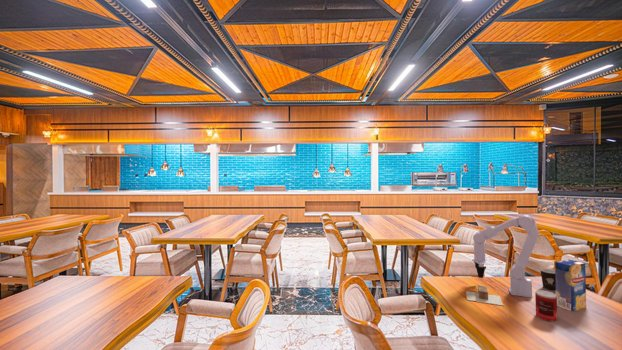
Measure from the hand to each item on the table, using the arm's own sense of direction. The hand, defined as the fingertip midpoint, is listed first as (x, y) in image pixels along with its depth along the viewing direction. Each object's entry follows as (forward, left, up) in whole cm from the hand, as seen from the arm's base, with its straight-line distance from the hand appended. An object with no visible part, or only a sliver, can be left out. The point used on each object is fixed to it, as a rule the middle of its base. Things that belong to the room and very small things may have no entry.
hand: (480, 275), depth 168 cm
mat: (0, +19, -6) cm, 20 cm away
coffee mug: (-37, -11, -6) cm, 39 cm away
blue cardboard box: (-38, +12, -6) cm, 40 cm away
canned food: (-24, +30, -6) cm, 39 cm away
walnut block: (0, +12, -4) cm, 12 cm away
